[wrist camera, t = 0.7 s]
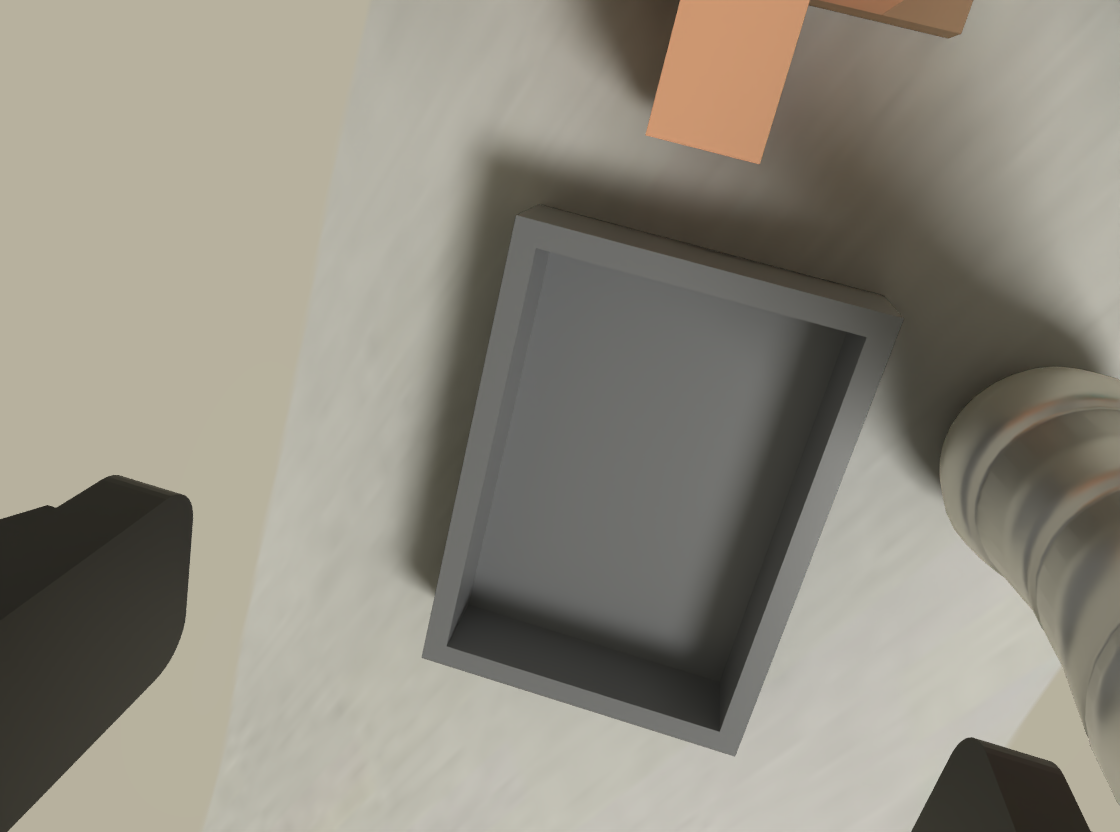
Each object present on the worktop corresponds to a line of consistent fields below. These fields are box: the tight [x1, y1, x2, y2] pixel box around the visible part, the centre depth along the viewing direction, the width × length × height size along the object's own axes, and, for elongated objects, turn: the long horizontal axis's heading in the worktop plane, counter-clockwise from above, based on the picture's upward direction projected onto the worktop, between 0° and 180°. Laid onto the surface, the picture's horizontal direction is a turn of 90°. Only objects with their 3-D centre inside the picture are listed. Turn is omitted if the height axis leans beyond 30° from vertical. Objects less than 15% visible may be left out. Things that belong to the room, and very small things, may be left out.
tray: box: [422, 204, 904, 756], centre depth 30 cm, size 16×12×4 cm
